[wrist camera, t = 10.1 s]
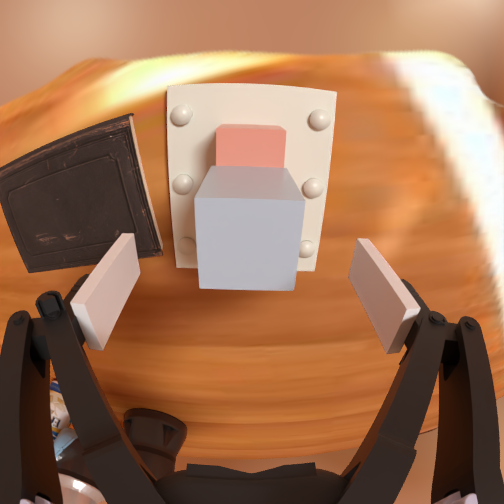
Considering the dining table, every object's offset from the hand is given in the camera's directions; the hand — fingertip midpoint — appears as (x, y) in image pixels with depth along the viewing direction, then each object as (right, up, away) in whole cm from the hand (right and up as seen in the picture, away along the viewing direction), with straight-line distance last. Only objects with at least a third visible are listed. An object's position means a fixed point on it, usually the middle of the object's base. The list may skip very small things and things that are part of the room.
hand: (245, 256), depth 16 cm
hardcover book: (-22, +7, +14) cm, 27 cm away
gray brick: (0, +4, +7) cm, 9 cm away
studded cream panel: (0, +8, +13) cm, 15 cm away
